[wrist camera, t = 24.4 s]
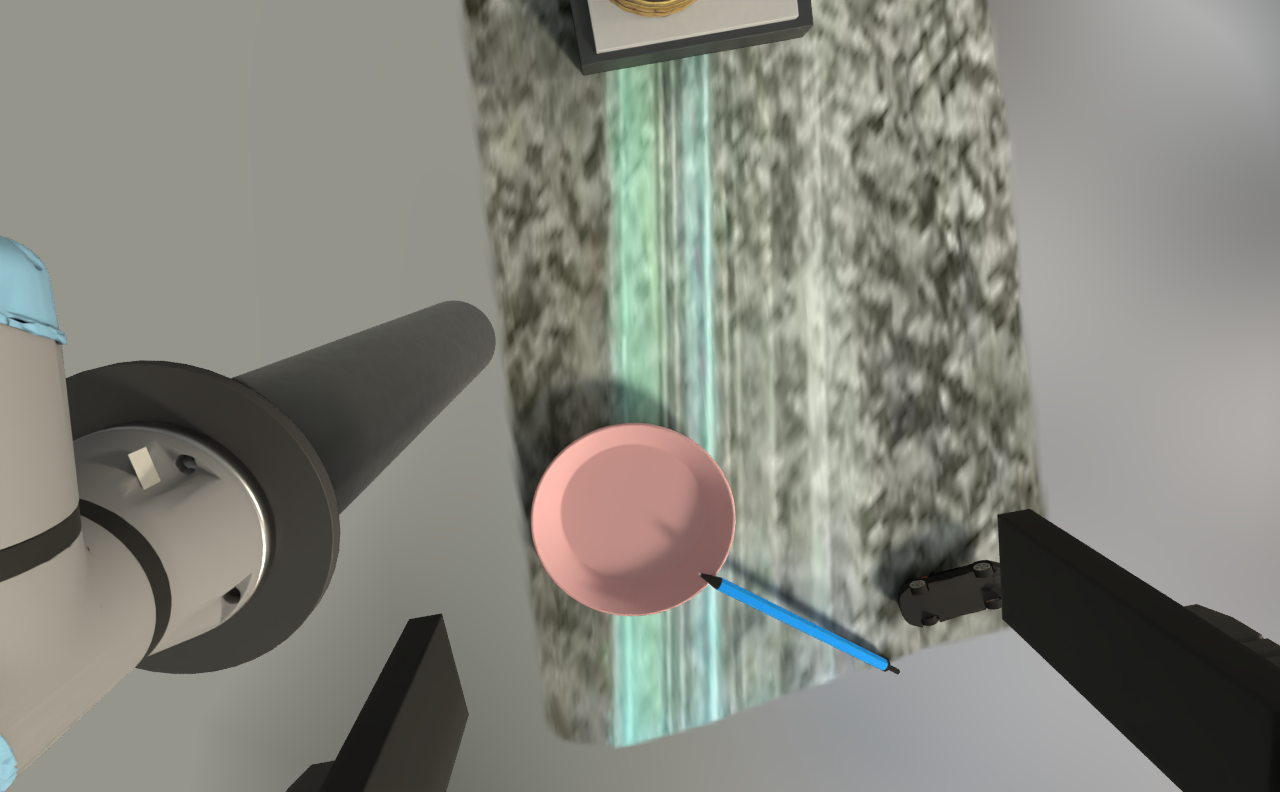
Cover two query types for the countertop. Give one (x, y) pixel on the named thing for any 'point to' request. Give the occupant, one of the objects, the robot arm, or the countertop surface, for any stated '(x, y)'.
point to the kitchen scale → (681, 30)
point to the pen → (798, 622)
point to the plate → (632, 519)
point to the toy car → (951, 593)
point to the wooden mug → (653, 6)
